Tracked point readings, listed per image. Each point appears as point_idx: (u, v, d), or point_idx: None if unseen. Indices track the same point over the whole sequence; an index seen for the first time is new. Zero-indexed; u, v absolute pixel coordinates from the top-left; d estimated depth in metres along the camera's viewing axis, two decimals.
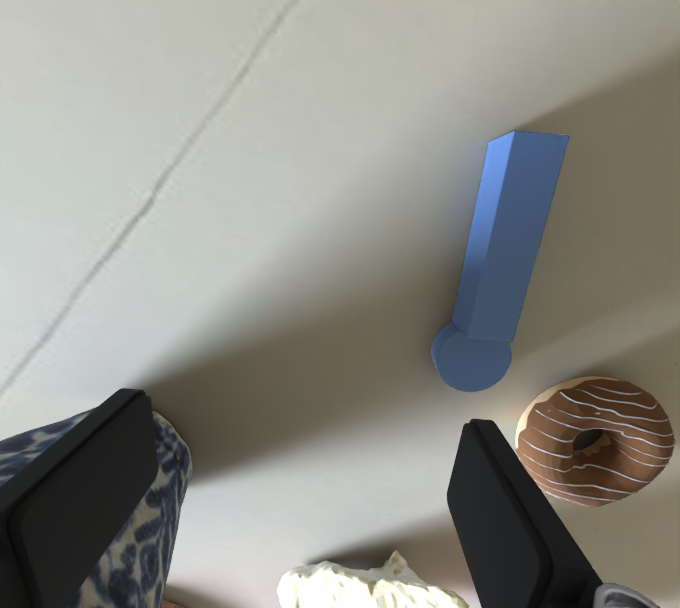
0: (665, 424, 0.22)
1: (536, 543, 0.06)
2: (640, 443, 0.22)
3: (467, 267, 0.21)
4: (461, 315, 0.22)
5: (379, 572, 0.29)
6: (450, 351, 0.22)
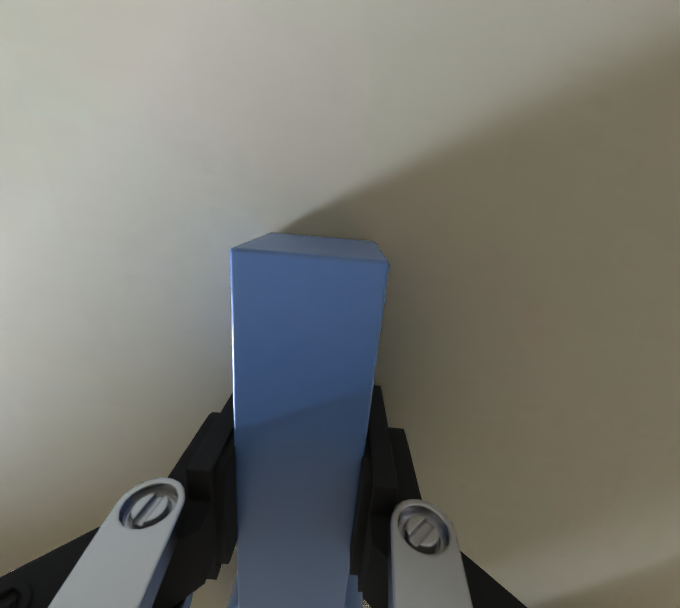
0: None
1: (366, 471, 0.07)
2: None
3: None
4: None
5: None
6: None
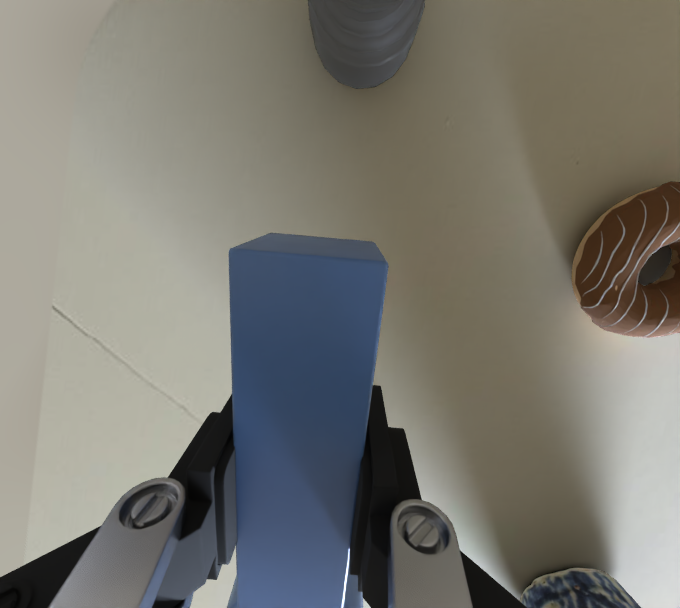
0: (651, 215, 0.19)
1: (366, 471, 0.07)
2: (670, 239, 0.19)
3: None
4: None
5: None
6: None
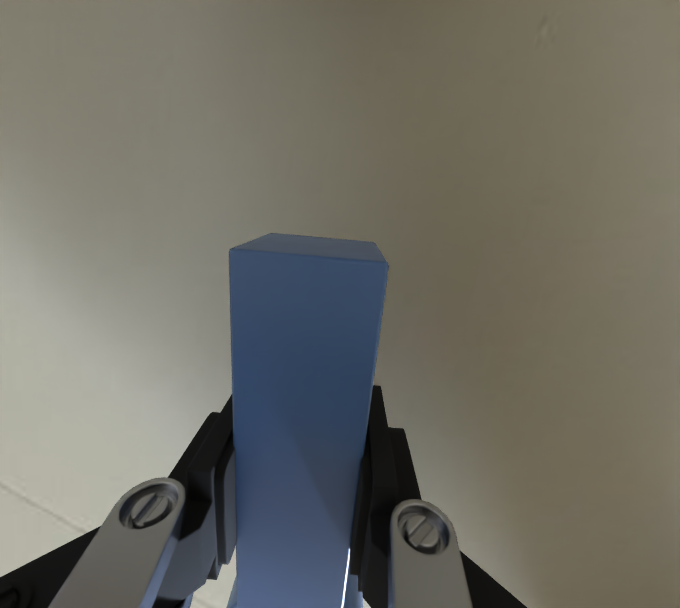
0: None
1: (366, 471, 0.07)
2: None
3: None
4: None
5: None
6: None
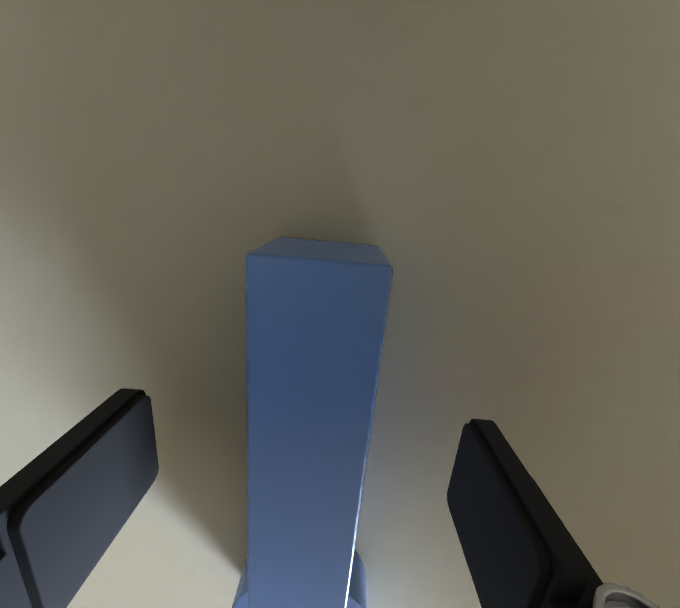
0: None
1: (536, 543, 0.06)
2: None
3: None
4: None
5: None
6: None
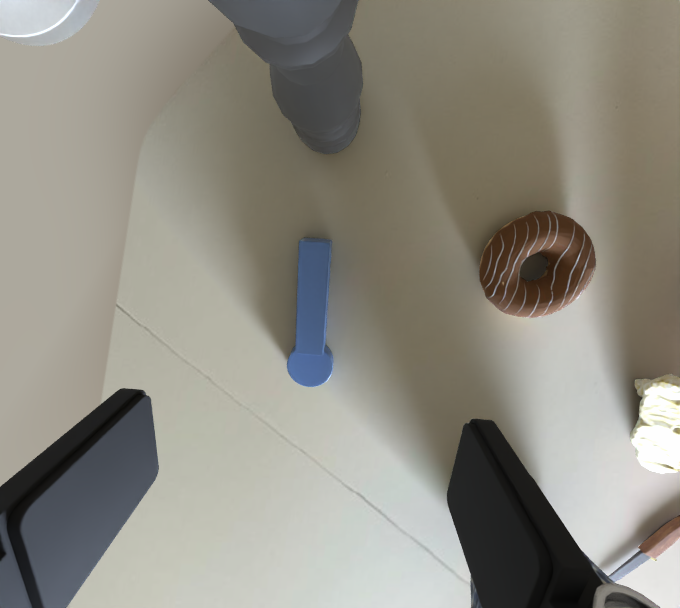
0: (518, 234, 0.29)
1: (536, 543, 0.06)
2: (532, 250, 0.29)
3: None
4: None
5: None
6: (294, 361, 0.36)
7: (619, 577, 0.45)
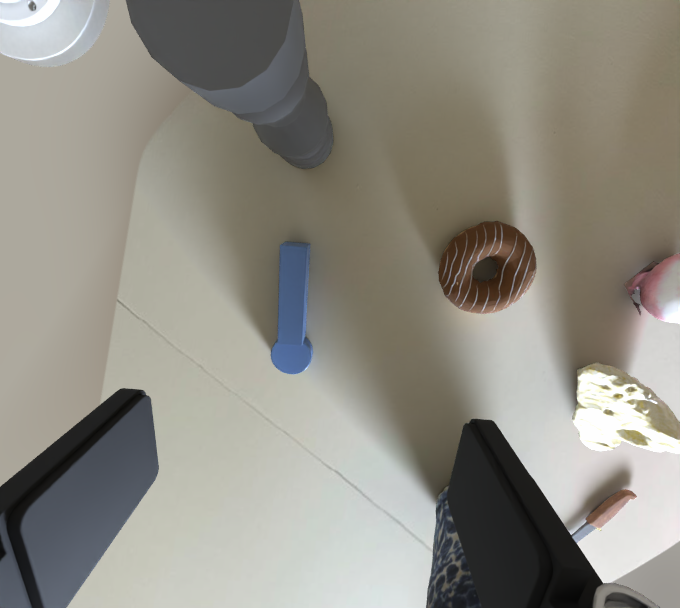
0: (469, 242, 0.34)
1: (536, 543, 0.06)
2: (481, 255, 0.34)
3: None
4: None
5: None
6: (277, 351, 0.40)
7: None
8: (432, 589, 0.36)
